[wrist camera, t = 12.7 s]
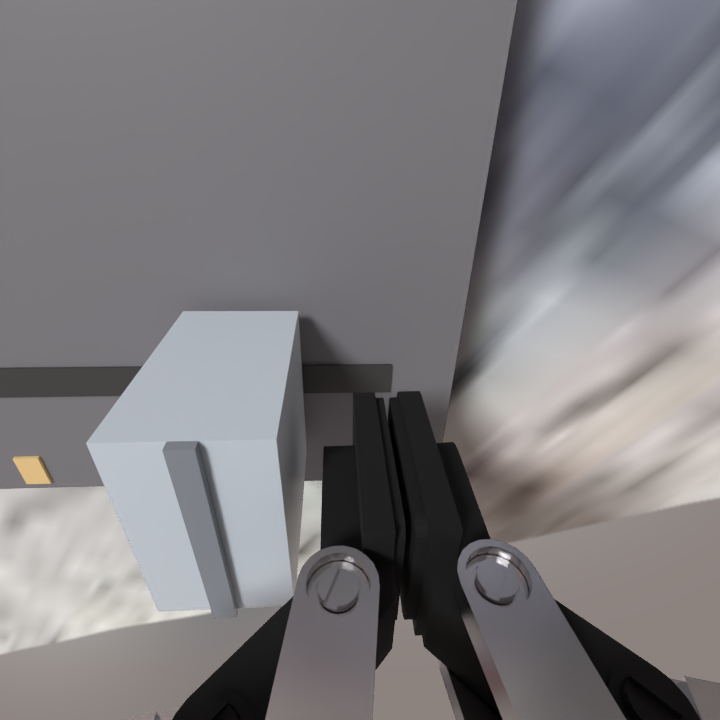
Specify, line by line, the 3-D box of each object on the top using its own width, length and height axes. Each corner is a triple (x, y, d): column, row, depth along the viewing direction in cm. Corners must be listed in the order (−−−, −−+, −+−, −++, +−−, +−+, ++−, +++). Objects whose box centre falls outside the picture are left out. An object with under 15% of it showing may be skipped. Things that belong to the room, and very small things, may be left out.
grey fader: (183, 311, 11) (79, 452, 6) (298, 311, 11) (275, 447, 7) (214, 451, 13) (155, 621, 9) (306, 449, 14) (293, 614, 9)
